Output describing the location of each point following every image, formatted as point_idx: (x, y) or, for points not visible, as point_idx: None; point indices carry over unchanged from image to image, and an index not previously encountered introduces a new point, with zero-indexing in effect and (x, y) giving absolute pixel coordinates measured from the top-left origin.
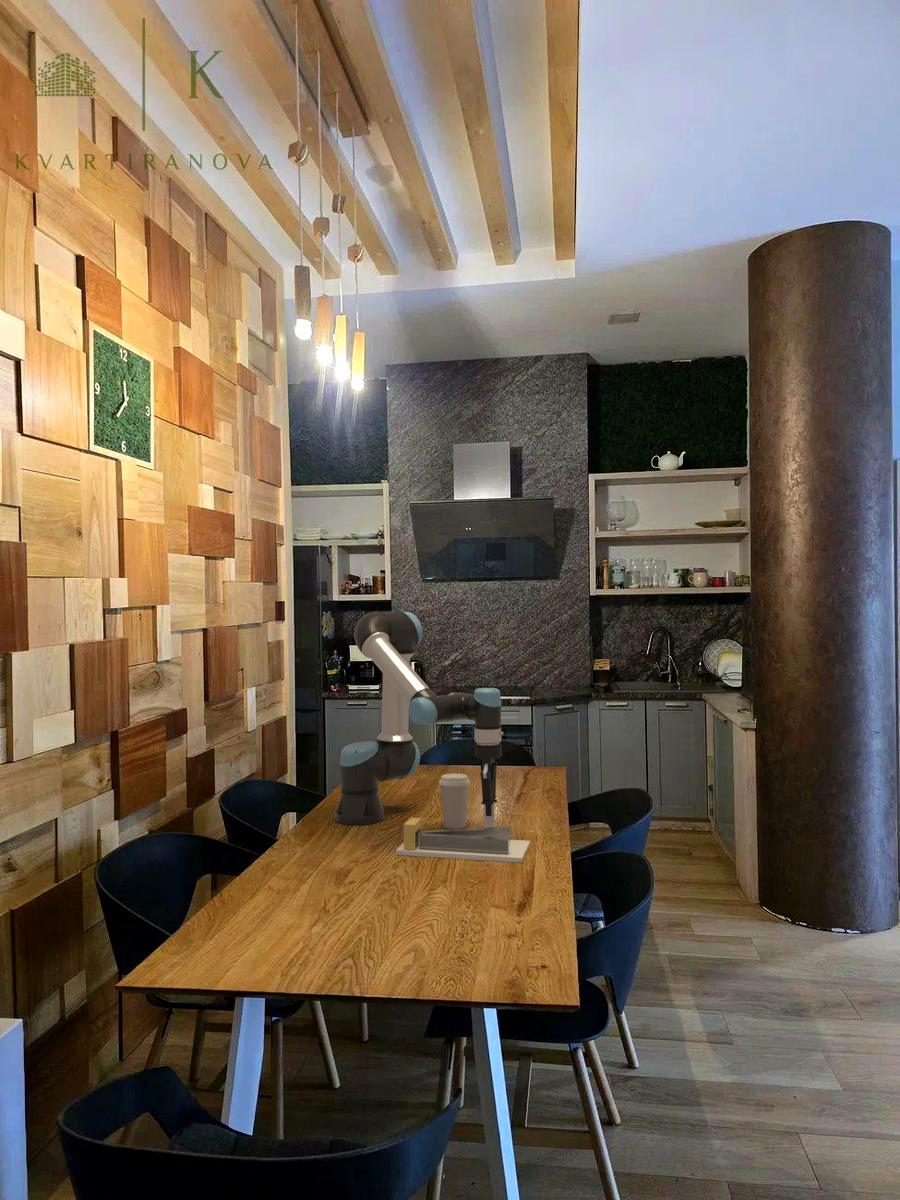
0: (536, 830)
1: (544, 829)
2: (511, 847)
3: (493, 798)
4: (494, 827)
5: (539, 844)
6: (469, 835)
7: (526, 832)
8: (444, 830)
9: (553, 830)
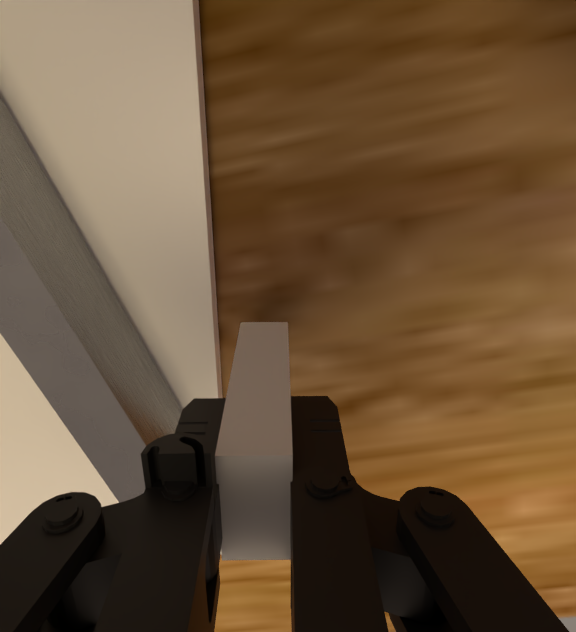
0: (542, 527)
1: (563, 558)
2: (56, 486)
3: (291, 610)
4: (128, 435)
5: (258, 567)
6: None
7: (495, 486)
8: None
9: (541, 595)
